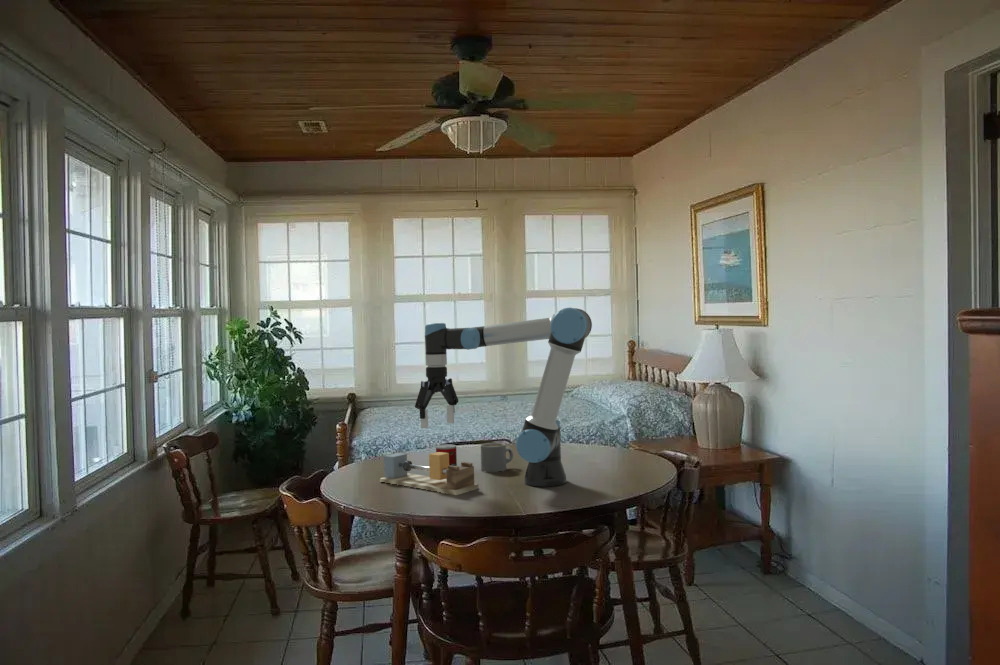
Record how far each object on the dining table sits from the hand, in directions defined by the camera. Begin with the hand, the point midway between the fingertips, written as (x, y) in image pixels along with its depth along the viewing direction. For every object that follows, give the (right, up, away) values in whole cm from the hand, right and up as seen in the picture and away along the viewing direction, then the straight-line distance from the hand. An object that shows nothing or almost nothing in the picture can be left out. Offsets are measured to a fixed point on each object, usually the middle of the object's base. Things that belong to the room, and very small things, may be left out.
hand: (437, 425), depth 253 cm
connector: (-17, -21, +14) cm, 30 cm away
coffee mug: (+21, -21, +28) cm, 42 cm away
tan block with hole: (+1, -19, 0) cm, 19 cm away
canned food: (+2, -22, +22) cm, 31 cm away
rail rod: (-4, -18, +4) cm, 19 cm away
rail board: (-4, -22, +4) cm, 23 cm away
